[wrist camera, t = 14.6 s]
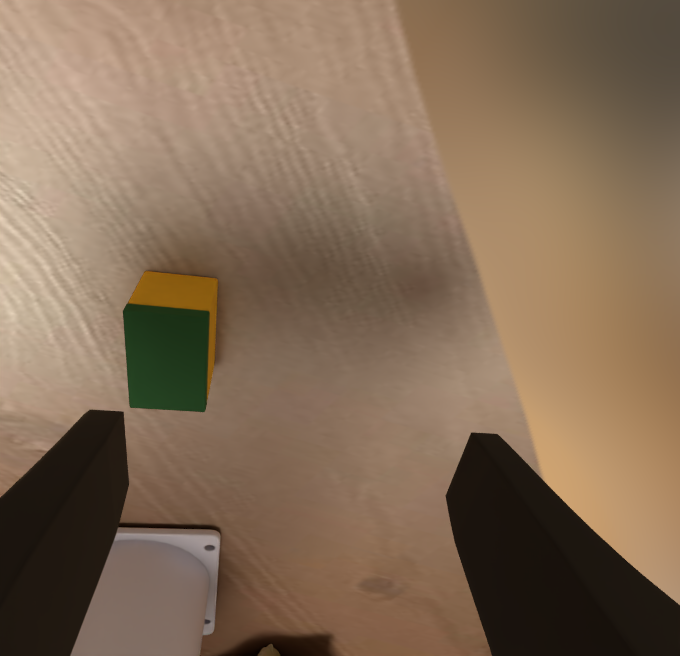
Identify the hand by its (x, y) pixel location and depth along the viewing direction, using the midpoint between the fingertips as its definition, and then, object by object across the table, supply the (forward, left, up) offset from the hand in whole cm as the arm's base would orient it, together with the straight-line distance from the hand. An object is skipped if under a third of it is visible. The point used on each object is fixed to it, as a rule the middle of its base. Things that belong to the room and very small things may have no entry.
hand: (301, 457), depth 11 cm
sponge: (-3, +4, -9) cm, 11 cm away
